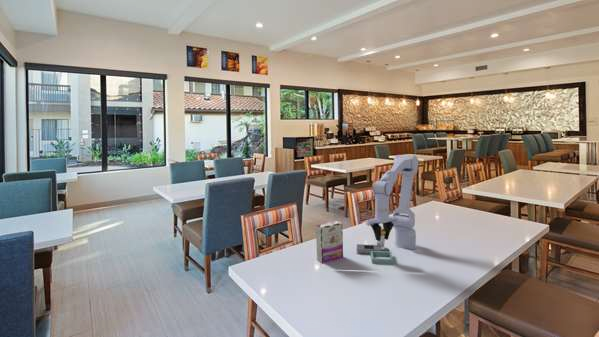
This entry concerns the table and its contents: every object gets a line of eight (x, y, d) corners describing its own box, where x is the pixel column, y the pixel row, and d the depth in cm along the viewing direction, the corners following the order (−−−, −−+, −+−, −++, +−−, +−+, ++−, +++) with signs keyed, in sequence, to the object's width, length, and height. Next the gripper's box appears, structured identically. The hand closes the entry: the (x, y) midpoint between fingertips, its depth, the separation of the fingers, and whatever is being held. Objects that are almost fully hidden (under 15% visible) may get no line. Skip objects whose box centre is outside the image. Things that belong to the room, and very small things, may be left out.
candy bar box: (337, 255, 148) (336, 220, 146) (343, 258, 143) (343, 222, 141) (316, 260, 143) (315, 224, 141) (322, 264, 138) (321, 227, 136)
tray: (391, 256, 144) (391, 251, 144) (393, 265, 135) (393, 259, 135) (370, 255, 146) (370, 250, 145) (371, 264, 137) (371, 258, 137)
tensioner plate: (389, 250, 152) (389, 245, 151) (390, 256, 145) (391, 250, 144) (356, 249, 154) (356, 244, 154) (356, 255, 147) (356, 249, 147)
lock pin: (381, 243, 142) (382, 228, 141) (386, 246, 139) (387, 231, 138) (374, 244, 141) (375, 229, 140) (379, 247, 138) (380, 232, 137)
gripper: (391, 205, 144) (390, 234, 145) (362, 208, 139) (362, 238, 141) (400, 208, 137) (400, 239, 139) (370, 212, 133) (370, 244, 134)
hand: (381, 239), depth 139 cm, fingers closed on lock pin, 3 cm apart
